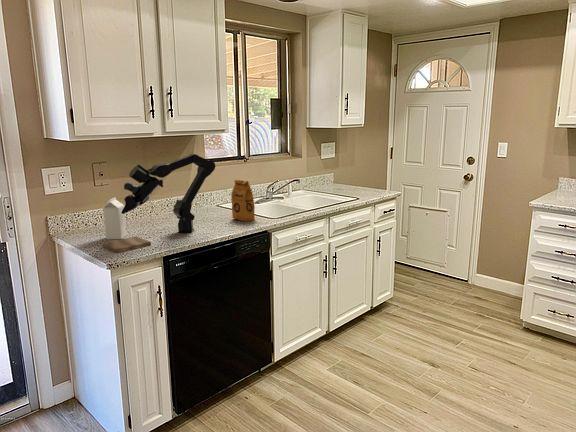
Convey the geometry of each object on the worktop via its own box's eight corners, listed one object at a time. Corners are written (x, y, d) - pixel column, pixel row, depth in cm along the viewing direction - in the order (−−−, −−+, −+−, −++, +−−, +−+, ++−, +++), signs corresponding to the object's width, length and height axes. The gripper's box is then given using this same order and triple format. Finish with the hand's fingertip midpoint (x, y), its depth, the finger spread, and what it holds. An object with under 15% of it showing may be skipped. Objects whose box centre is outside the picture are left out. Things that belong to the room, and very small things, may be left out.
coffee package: (243, 222, 233) (241, 182, 228) (230, 219, 242) (228, 180, 237) (257, 220, 239) (256, 180, 234) (244, 216, 248) (243, 178, 243)
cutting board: (136, 239, 203) (136, 236, 203) (151, 245, 194) (150, 241, 193) (102, 246, 192) (101, 243, 192) (115, 252, 183) (115, 249, 182)
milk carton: (126, 235, 210) (122, 196, 206) (121, 239, 203) (117, 199, 199) (111, 235, 210) (107, 197, 206) (106, 239, 203) (101, 199, 199)
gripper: (140, 173, 209) (120, 196, 212) (126, 178, 191) (104, 203, 193) (158, 189, 211) (137, 211, 213) (146, 195, 193) (123, 220, 195)
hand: (125, 211), depth 204 cm, fingers open, 9 cm apart
